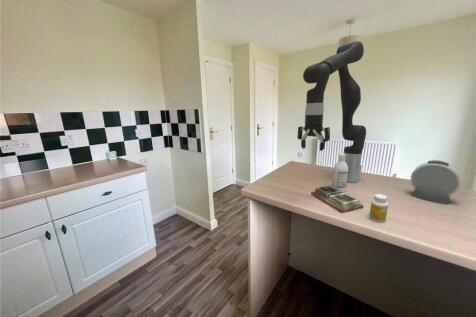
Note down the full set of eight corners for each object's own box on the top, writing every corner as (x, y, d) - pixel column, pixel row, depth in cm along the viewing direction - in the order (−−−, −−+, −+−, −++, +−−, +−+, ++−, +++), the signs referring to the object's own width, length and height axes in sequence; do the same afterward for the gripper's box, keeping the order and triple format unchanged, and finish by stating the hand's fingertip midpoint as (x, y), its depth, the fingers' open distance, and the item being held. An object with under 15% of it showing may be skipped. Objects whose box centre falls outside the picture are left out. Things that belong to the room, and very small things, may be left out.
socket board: (329, 190, 104) (330, 184, 103) (363, 207, 85) (364, 200, 84) (311, 194, 101) (311, 187, 100) (341, 213, 82) (342, 205, 81)
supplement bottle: (366, 215, 80) (369, 193, 77) (378, 214, 80) (381, 192, 78) (376, 222, 75) (379, 199, 72) (389, 221, 75) (393, 198, 73)
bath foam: (348, 190, 103) (353, 154, 98) (340, 193, 100) (344, 156, 95) (337, 186, 109) (340, 152, 104) (328, 189, 106) (331, 153, 101)
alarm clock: (455, 199, 89) (465, 162, 85) (454, 207, 83) (465, 167, 78) (409, 189, 101) (416, 156, 97) (406, 195, 95) (413, 160, 90)
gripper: (334, 113, 83) (331, 149, 87) (303, 113, 93) (302, 146, 97) (327, 114, 78) (324, 152, 82) (295, 114, 88) (294, 148, 92)
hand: (312, 149), depth 90 cm, fingers open, 8 cm apart
